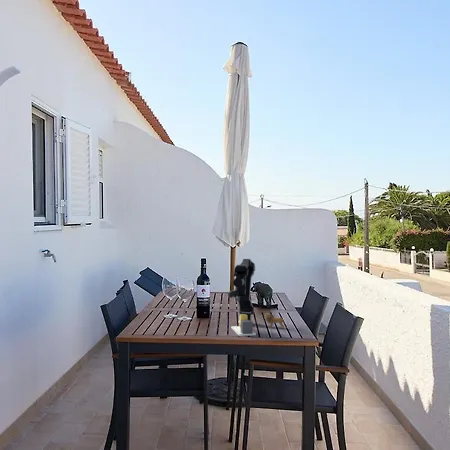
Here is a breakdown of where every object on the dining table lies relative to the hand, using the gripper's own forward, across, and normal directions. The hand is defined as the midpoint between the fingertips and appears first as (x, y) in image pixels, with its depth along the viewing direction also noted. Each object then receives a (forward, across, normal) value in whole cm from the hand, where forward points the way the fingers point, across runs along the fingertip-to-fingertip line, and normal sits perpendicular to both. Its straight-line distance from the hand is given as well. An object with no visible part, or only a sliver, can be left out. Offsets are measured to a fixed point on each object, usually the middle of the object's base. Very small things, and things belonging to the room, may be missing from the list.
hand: (240, 310), depth 292 cm
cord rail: (+11, +7, 0) cm, 13 cm away
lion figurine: (+12, -1, +22) cm, 25 cm away
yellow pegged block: (+9, +7, 0) cm, 11 cm away
